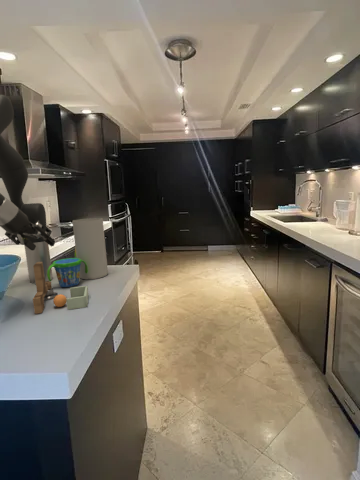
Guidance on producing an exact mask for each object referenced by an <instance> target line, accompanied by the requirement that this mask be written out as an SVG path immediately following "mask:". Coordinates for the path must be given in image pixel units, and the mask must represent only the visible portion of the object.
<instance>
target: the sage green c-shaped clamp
mask: <svg viewBox="0 0 360 480" xmlns="http://www.w3.org/2000/svg"><path fill="white" fill-rule="evenodd" d="M69 292H70V297H68V298H67V297H66V301H67V302H66V309H67V311H69V310H76V309H84V308H87V307H88V304H89V303H88V302H89V296H90V295H89V286H88V285H82V286H72V287H69Z"/></svg>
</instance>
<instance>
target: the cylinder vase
mask: <svg viewBox="0 0 360 480" xmlns="http://www.w3.org/2000/svg"><path fill="white" fill-rule="evenodd" d="M103 219H104V218H102V217H99V218H98V217H95V218H82V219H80V218H79V219H73V220H72V229H73V239H74V245H75V248H76V257H77V258H79V259H81V260H83V261H85V262H86V264H87V266H88V273H85V264H84V263H83V262H81V265H80V279H82V280H97V279H101V278H104V277H106V276H107V275H108V273H109V271H108V270H109V269H108V260H107V250H106V249H107V247H106V240H105V229H104V220H103ZM75 248H74V249H75Z"/></svg>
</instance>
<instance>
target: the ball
mask: <svg viewBox="0 0 360 480" xmlns="http://www.w3.org/2000/svg"><path fill="white" fill-rule="evenodd" d="M66 299H67V296H66V295H64V294H58V295H57V296H55V298H53V304H54V306H55V307H57V308H61V307H64V306H65V305H67V301H66Z"/></svg>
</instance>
